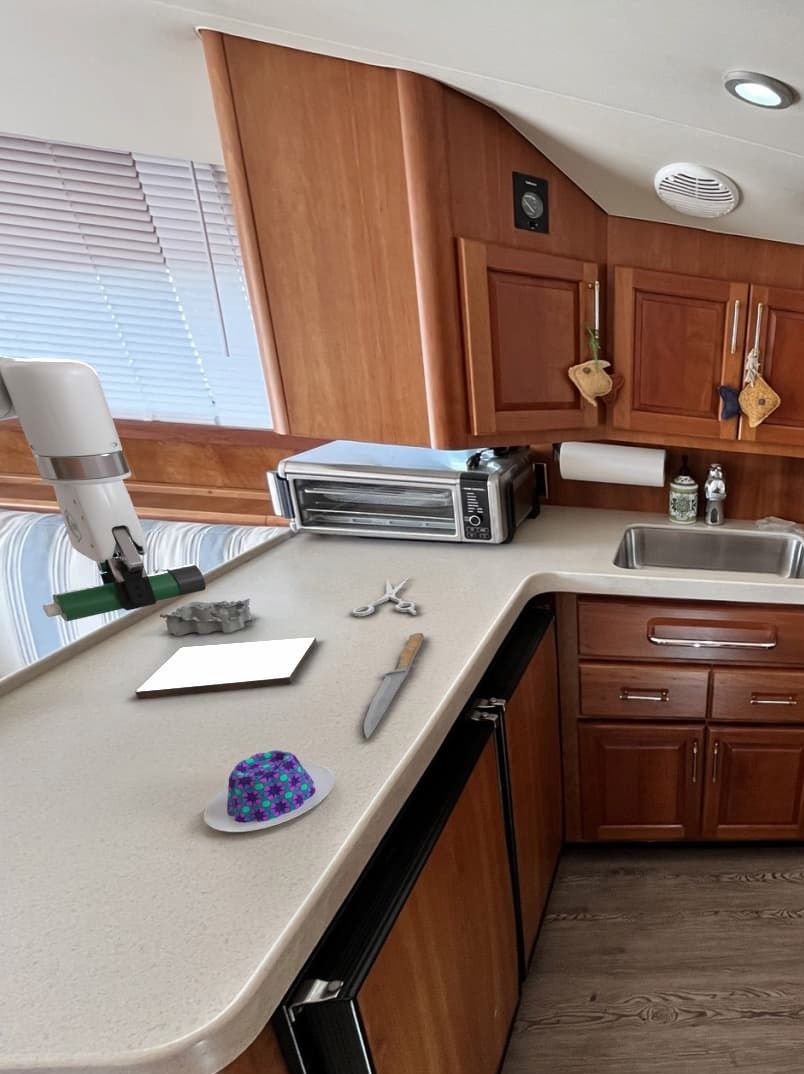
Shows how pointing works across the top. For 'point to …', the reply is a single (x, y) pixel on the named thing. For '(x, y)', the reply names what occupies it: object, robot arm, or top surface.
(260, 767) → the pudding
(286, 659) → the board
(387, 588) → the scissors
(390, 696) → the knife
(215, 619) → the egg carton
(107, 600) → the marker
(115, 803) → the top surface
